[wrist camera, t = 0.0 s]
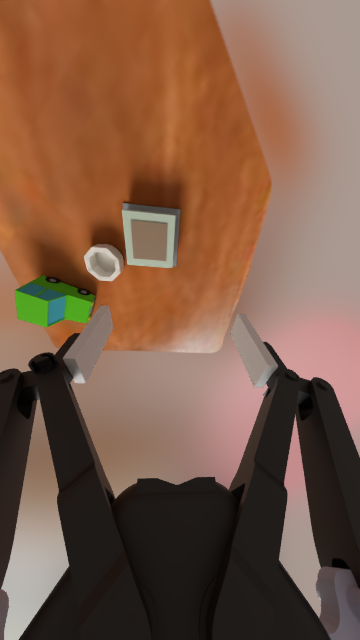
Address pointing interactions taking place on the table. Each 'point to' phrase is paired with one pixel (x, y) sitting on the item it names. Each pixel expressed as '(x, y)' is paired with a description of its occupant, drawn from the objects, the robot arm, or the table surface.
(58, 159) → the table surface
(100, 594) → the robot arm
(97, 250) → the bowl
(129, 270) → the table surface
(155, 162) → the table surface
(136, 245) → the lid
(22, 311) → the toy car
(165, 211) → the mat
